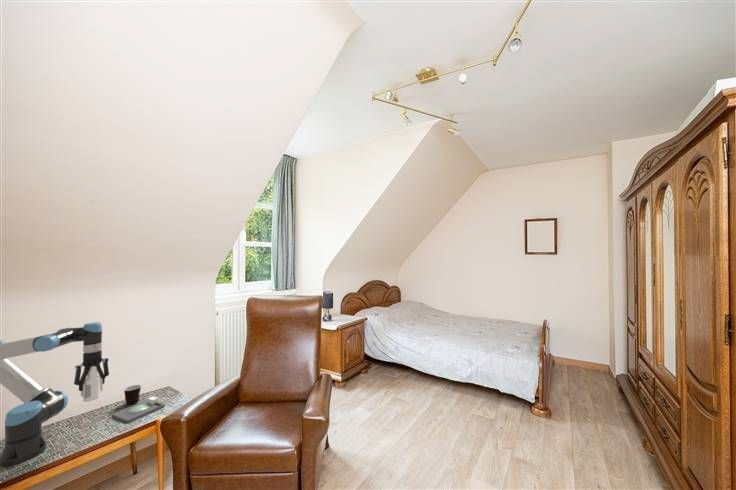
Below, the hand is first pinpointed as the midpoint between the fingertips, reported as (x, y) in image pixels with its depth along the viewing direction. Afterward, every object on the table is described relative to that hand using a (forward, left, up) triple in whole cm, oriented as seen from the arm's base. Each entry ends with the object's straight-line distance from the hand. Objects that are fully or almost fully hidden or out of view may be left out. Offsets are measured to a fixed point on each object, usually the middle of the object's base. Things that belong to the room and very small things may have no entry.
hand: (91, 393), depth 160 cm
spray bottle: (0, 0, -3) cm, 3 cm away
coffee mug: (+29, +18, -22) cm, 40 cm away
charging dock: (+23, +1, -21) cm, 31 cm away
